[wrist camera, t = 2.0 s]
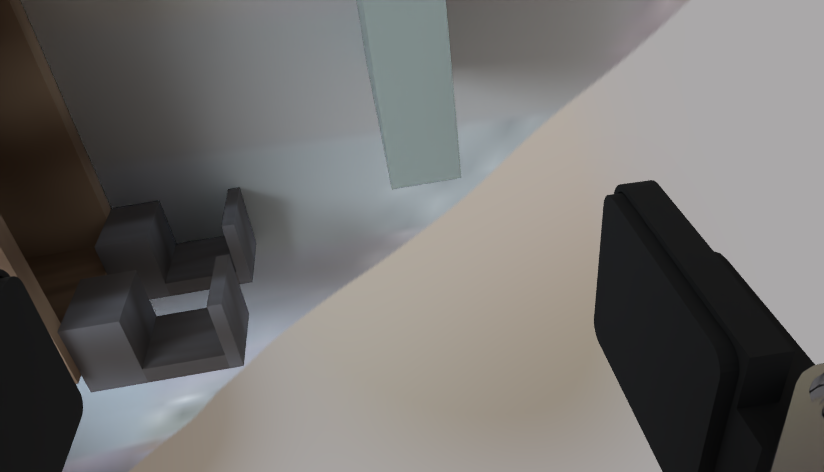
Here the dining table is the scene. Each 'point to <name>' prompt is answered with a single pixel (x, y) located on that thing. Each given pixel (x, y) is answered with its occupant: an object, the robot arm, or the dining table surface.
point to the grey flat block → (412, 88)
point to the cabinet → (106, 244)
